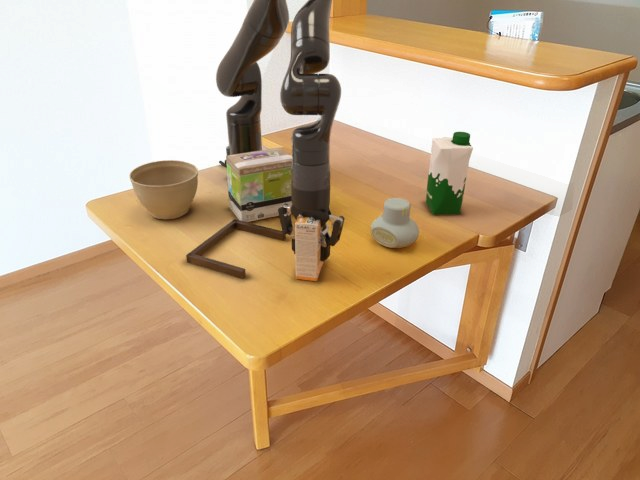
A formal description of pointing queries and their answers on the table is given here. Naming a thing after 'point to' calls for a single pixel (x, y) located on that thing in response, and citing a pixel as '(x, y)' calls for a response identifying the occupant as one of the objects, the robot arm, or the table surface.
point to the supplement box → (308, 249)
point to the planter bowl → (165, 187)
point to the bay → (197, 253)
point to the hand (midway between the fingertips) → (310, 255)
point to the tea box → (259, 183)
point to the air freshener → (395, 225)
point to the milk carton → (448, 173)
